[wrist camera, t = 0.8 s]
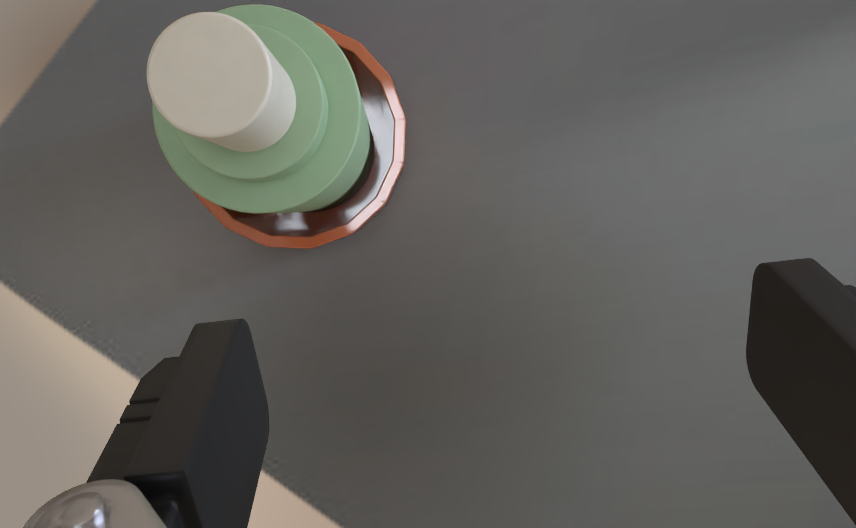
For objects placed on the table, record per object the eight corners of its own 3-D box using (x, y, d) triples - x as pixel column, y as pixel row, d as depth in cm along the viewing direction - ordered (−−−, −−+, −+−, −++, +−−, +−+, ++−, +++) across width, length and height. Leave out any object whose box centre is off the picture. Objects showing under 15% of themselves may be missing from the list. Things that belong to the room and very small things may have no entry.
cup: (193, 94, 35) (144, 66, 28) (365, 32, 35) (359, -12, 28) (260, 266, 36) (227, 279, 29) (428, 204, 36) (436, 202, 29)
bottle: (229, 111, 35) (22, -13, 15) (348, 68, 35) (290, -110, 16) (275, 229, 35) (129, 253, 16) (392, 187, 35) (388, 158, 16)
